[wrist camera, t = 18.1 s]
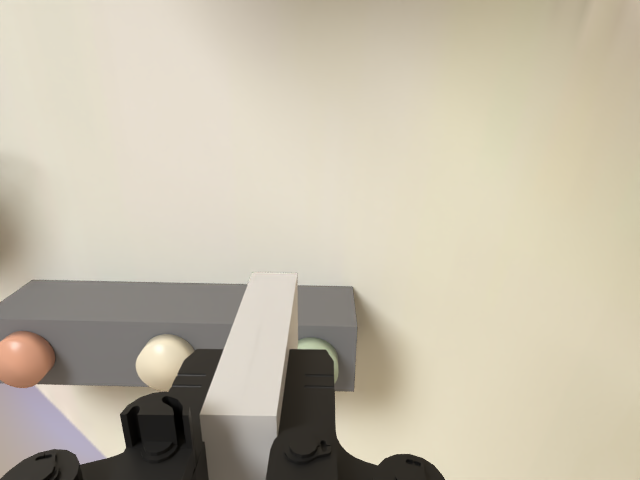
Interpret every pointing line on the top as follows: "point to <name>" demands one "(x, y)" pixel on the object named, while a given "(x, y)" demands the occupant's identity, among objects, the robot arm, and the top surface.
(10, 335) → the button terracotta
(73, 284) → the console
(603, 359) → the top surface
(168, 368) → the button cream
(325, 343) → the button sage
